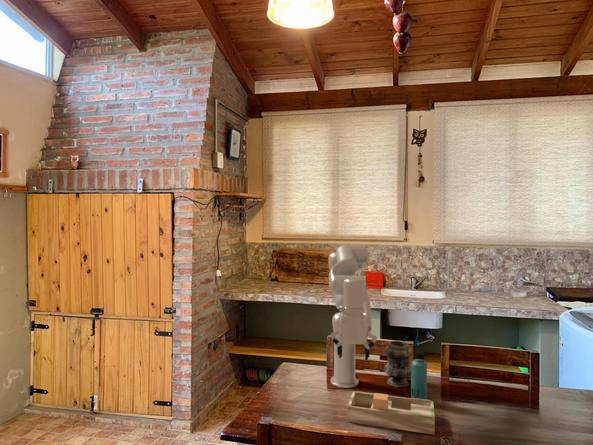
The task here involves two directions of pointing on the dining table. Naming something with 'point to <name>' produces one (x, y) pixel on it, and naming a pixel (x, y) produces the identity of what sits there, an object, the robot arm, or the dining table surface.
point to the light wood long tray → (393, 413)
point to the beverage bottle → (419, 376)
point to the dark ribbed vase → (398, 363)
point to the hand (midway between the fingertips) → (353, 358)
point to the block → (380, 401)
